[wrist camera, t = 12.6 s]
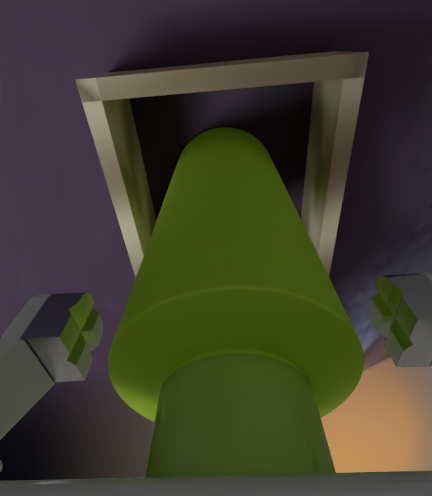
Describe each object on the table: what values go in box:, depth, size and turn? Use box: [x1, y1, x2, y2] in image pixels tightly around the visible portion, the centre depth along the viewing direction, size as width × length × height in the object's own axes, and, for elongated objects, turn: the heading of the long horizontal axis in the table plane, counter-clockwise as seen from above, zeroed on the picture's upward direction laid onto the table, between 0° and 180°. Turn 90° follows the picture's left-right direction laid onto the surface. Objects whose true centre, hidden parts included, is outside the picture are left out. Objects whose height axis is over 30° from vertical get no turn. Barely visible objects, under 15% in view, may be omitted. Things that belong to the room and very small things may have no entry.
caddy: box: [76, 51, 369, 277], centre depth 19 cm, size 21×11×4 cm, turn 5°
